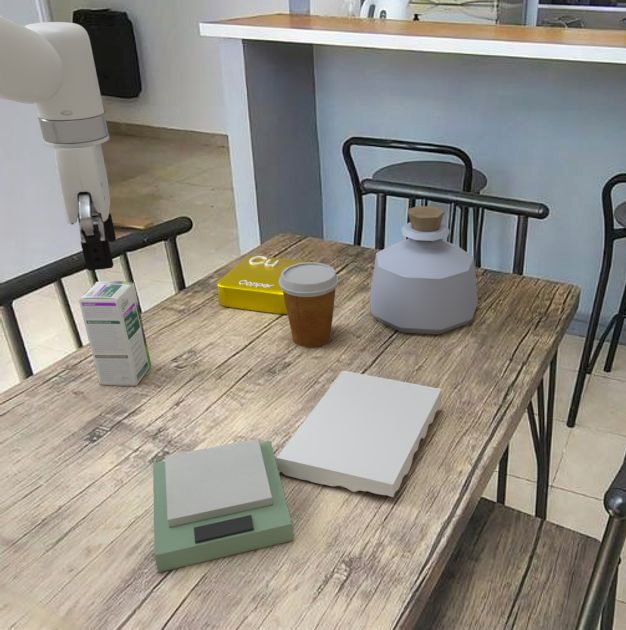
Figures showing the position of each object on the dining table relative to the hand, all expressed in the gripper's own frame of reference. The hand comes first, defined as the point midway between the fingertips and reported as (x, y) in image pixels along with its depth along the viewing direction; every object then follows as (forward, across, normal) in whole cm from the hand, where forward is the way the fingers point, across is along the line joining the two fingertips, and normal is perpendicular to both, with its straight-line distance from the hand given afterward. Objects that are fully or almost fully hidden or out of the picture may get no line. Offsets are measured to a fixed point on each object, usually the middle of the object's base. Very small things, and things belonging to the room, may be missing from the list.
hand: (102, 254), depth 94 cm
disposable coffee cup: (+20, -3, +28) cm, 35 cm away
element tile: (+20, -22, +24) cm, 38 cm away
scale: (+20, +33, +10) cm, 40 cm away
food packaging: (+20, +26, +30) cm, 45 cm away
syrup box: (+20, 0, 0) cm, 20 cm away
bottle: (+20, -7, +50) cm, 54 cm away
